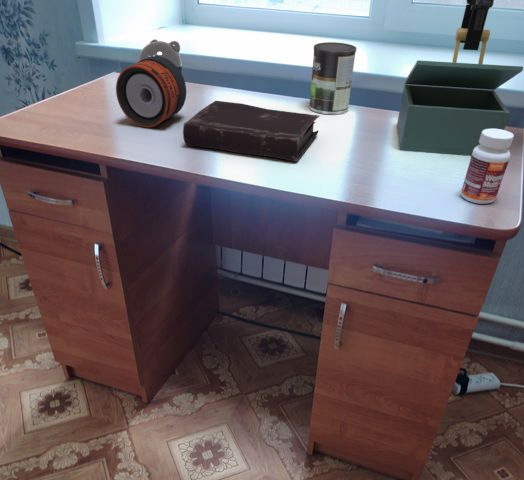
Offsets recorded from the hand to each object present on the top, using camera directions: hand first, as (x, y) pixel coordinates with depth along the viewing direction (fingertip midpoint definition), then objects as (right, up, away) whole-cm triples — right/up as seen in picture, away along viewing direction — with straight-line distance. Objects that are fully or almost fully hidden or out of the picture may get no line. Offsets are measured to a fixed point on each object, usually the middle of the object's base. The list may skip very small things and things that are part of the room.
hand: (467, 45), depth 102 cm
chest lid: (0, -4, +5) cm, 6 cm away
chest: (0, -14, +13) cm, 19 cm away
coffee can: (-24, +1, +29) cm, 38 cm away
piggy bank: (-69, +12, +40) cm, 81 cm away
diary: (-43, -15, +10) cm, 47 cm away
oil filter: (-67, -6, +19) cm, 70 cm away
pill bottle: (-2, -34, -10) cm, 35 cm away
